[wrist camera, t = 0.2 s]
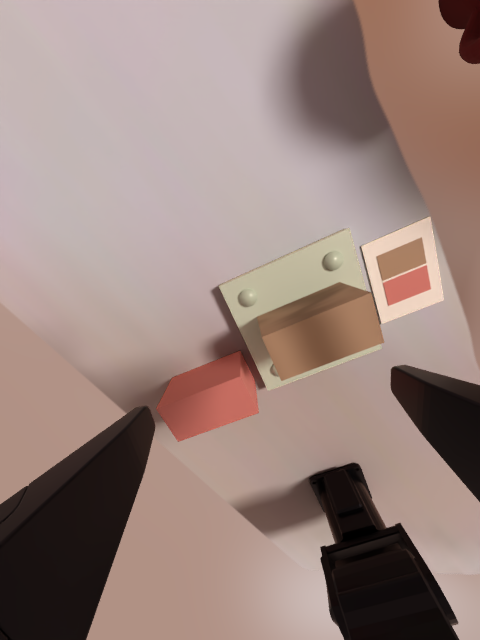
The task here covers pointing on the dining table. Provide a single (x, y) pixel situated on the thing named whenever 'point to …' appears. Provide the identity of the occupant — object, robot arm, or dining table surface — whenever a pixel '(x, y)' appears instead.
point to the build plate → (291, 293)
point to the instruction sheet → (404, 270)
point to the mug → (464, 25)
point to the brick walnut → (320, 329)
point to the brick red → (209, 397)
